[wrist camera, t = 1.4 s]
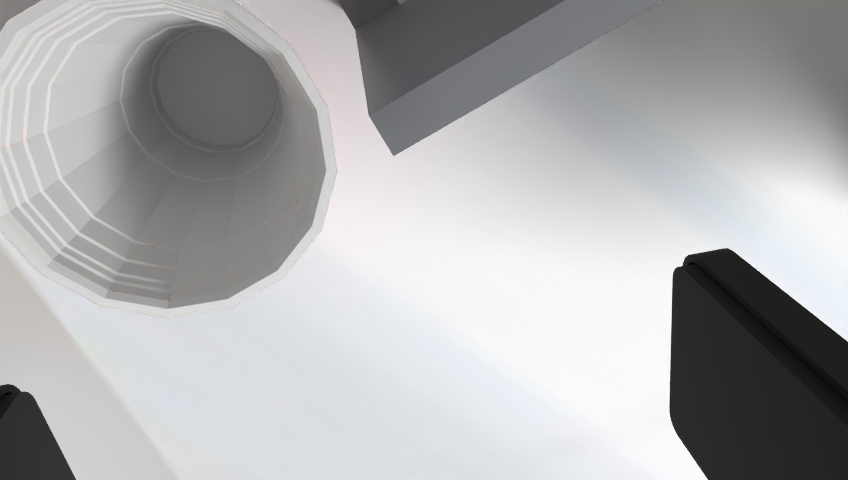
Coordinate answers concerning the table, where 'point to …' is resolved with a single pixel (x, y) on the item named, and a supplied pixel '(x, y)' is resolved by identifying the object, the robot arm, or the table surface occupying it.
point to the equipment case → (464, 53)
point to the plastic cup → (159, 152)
